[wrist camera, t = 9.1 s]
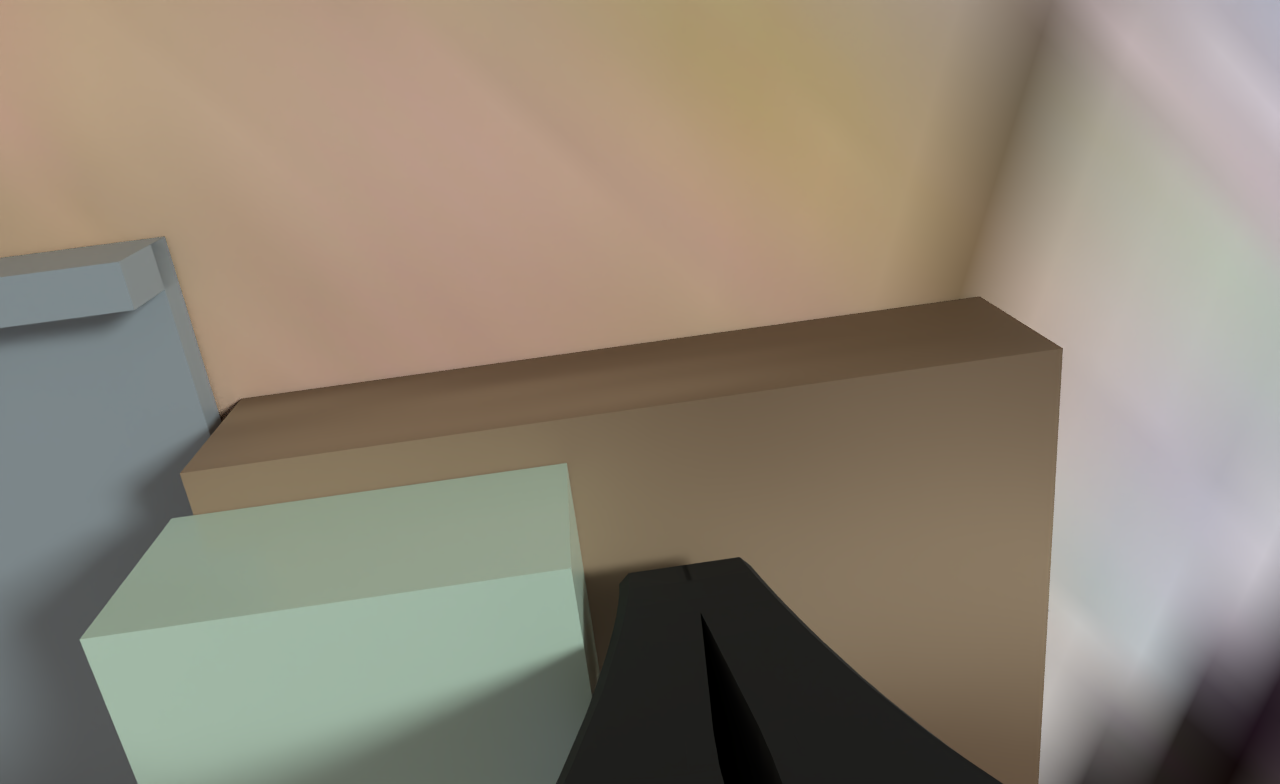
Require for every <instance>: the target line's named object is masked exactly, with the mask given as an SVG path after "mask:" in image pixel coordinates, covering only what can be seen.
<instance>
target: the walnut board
mask: <svg viewBox="0 0 1280 784" xmlns="http://www.w3.org/2000/svg"><path fill="white" fill-rule="evenodd" d="M1062 352H1063V348H1061V347H1060V346H1058V345H1056V344H1055V343H1053V342H1052V341H1050V340H1048V339H1047V338H1045V337H1044V336H1042V335H1040V334H1039V333H1037V332H1036V331H1034V330H1032V329H1031V328H1029V327H1028V326H1026V325H1024V324H1023V323H1021V322H1020V321H1018V320H1016V319H1015V318H1013V317H1012V316H1010V315H1008V314H1007V313H1005V312H1004V311H1002V310H1000V309H999V308H997V307H996V306H994V305H993V304H991V303H989V302H988V301H986V300H985V299H983V298H981V297H973V298H966V299H959V300H952V301H944V302H937V303H930V304H923V305H915V306H908V307H901V308H894V309H887V310H879V311H872V312H865V313H858V314H850V315H843V316H836V317H829V318H822V319H814V320H807V321H800V322H793V323H786V324H778V325H771V326H764V327H757V328H749V329H742V330H735V331H728V332H721V333H713V334H706V335H699V336H692V337H684V338H677V339H670V340H663V341H656V342H648V343H641V344H634V345H627V346H620V347H612V348H605V349H598V350H591V351H583V352H576V353H569V354H562V355H555V356H547V357H540V358H533V359H526V360H518V361H511V362H504V363H497V364H490V365H482V366H475V367H468V368H461V369H453V370H446V371H439V372H432V373H425V374H417V375H410V376H403V377H396V378H389V379H381V380H374V381H367V382H360V383H352V384H345V385H338V386H331V387H324V388H316V389H309V390H302V391H295V392H287V393H280V394H273V395H266V396H259V397H251V398H244V399H241V400H240V401H239V402H238V403H237V404H236V406H235V407H234V408H233V409H232V411H231V412H230V413H229V414H228V415H227V417H226V418H225V419H224V420H223V421H222V423H221V424H220V425H219V426H218V428H217V429H216V430H215V431H214V432H213V434H212V435H211V436H210V437H209V438H208V440H207V441H206V442H205V443H204V445H203V446H202V447H201V448H200V449H199V451H198V452H197V453H196V454H195V456H194V457H193V458H192V459H191V460H190V462H189V463H188V464H187V465H186V466H185V468H184V469H183V470H182V471H181V473H180V476H181V479H182V482H183V485H184V488H185V491H186V494H187V497H188V500H189V503H190V506H191V509H192V512H193V515H200V514H207V513H214V512H221V511H228V510H235V509H242V508H249V507H257V506H264V505H271V504H278V503H285V502H292V501H299V500H306V499H314V498H321V497H328V496H335V495H342V494H349V493H356V492H363V491H371V490H378V489H385V488H392V487H399V486H406V485H413V484H420V483H428V482H435V481H442V480H449V479H456V478H463V477H470V476H477V475H485V474H492V473H499V472H506V471H513V470H520V469H527V468H534V467H542V466H549V465H556V464H563V463H567V467H568V473H569V480H570V486H571V492H572V499H573V505H574V511H575V518H576V524H577V531H578V537H579V543H580V550H581V556H582V563H583V569H584V575H585V582H586V588H587V594H588V601H589V607H590V614H591V620H592V626H593V633H594V639H595V646H596V652H597V658H598V665H599V671H600V672H601V669H602V666H603V663H604V660H605V657H606V654H607V650H608V647H609V643H610V639H611V635H612V632H613V628H614V623H615V619H616V613H617V607H618V600H619V584H620V582H621V581H622V580H623V579H624V578H625V577H626V576H627V574H628V573H633V572H639V571H646V570H653V569H660V568H667V567H674V566H681V565H688V564H694V563H701V562H708V561H715V560H722V559H729V558H736V557H740V558H742V559H743V560H744V561H745V562H747V563H748V564H749V565H751V566H752V568H753V569H754V570H755V571H756V572H757V573H758V575H759V576H760V577H761V578H762V579H763V580H764V581H765V582H766V584H767V585H768V586H769V587H770V588H771V589H772V590H773V591H774V592H775V593H776V594H777V596H778V597H779V598H780V599H781V600H782V601H783V602H784V603H785V604H786V605H787V606H788V607H789V608H790V609H791V610H792V611H793V612H794V613H795V614H796V615H797V616H798V617H799V618H800V619H801V620H802V621H803V622H804V623H805V624H806V625H807V626H808V627H809V628H810V629H811V630H812V631H813V632H814V633H815V634H816V635H817V636H818V637H819V638H820V639H821V640H822V641H823V642H824V643H826V644H827V645H828V646H829V647H830V648H831V649H832V650H833V651H834V652H835V653H837V654H838V655H839V656H840V657H841V658H842V659H843V660H844V661H845V662H846V663H847V664H849V665H850V666H851V667H852V668H853V669H854V670H855V671H856V672H857V673H858V674H860V675H861V676H862V677H863V678H864V679H865V680H866V681H868V682H869V683H870V684H871V685H872V686H873V687H875V688H876V689H877V690H878V691H879V692H881V693H882V694H883V695H884V696H885V697H886V698H888V699H889V700H890V701H891V702H893V703H894V704H895V705H896V706H898V707H899V708H900V709H901V710H903V711H904V712H905V713H906V714H908V715H909V716H910V717H911V718H913V719H914V720H915V721H916V722H918V723H919V724H920V725H921V726H923V727H924V728H925V729H927V730H928V731H929V732H930V733H932V734H933V735H934V736H936V737H937V738H938V739H940V740H941V741H942V742H944V743H945V744H946V745H948V746H949V747H950V748H952V749H953V750H955V751H956V752H957V753H959V754H960V755H961V756H963V757H964V758H966V759H967V760H969V761H970V762H972V763H973V764H975V765H976V766H977V767H979V768H980V769H982V770H983V771H985V772H986V773H988V774H989V775H991V776H992V777H994V778H995V779H997V780H998V781H1000V782H1001V783H1003V784H1038V779H1039V761H1040V743H1041V725H1042V708H1043V690H1044V672H1045V654H1046V637H1047V619H1048V601H1049V583H1050V566H1051V548H1052V530H1053V512H1054V495H1055V477H1056V459H1057V441H1058V423H1059V406H1060V388H1061V370H1062Z"/></svg>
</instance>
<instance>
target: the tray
mask: <svg viewBox="0 0 1280 784" xmlns="http://www.w3.org/2000/svg"><path fill="white" fill-rule="evenodd" d="M221 423H222V422H221V419H220V415H219V412H218V409H217V406H216V402H215V399H214V396H213V393H212V389H211V386H210V383H209V380H208V376H207V373H206V370H205V366H204V363H203V360H202V357H201V353H200V350H199V347H198V344H197V340H196V337H195V334H194V331H193V327H192V324H191V321H190V317H189V314H188V311H187V308H186V304H185V301H184V298H183V295H182V291H181V288H180V285H179V282H178V278H177V275H176V272H175V269H174V265H173V262H172V259H171V255H170V252H169V249H168V246H167V242H166V239H165V237H157V238H149V239H142V240H134V241H127V242H119V243H111V244H104V245H96V246H88V247H81V248H73V249H65V250H58V251H50V252H42V253H35V254H27V255H19V256H12V257H4V258H0V784H138V783H137V780H136V778H135V775H134V773H133V771H132V768H131V766H130V763H129V761H128V758H127V756H126V753H125V751H124V748H123V746H122V743H121V741H120V738H119V736H118V734H117V731H116V729H115V726H114V724H113V721H112V719H111V716H110V714H109V711H108V709H107V706H106V704H105V701H104V699H103V696H102V694H101V692H100V689H99V687H98V684H97V682H96V679H95V677H94V674H93V672H92V669H91V667H90V664H89V662H88V659H87V657H86V655H85V652H84V650H83V647H82V645H81V642H80V640H79V639H80V638H81V637H82V636H83V634H84V633H85V632H86V630H87V629H88V628H89V626H90V625H91V624H92V622H93V621H94V620H95V618H96V617H97V616H98V615H99V613H100V612H101V611H102V609H103V608H104V607H105V605H106V604H107V603H108V601H109V600H110V599H111V597H112V596H113V595H114V593H115V592H116V591H117V590H118V588H119V587H120V586H121V584H122V583H123V582H124V580H125V579H126V578H127V576H128V575H129V574H130V572H131V571H132V570H133V569H134V567H135V566H136V565H137V563H138V562H139V561H140V559H141V558H142V557H143V555H144V554H145V553H146V551H147V550H148V549H149V548H150V546H151V545H152V544H153V542H154V541H155V540H156V538H157V537H158V536H159V534H160V533H161V532H162V530H163V529H164V528H165V526H166V525H167V524H168V523H169V521H170V520H171V519H172V518H178V517H185V516H192V515H193V512H192V509H191V506H190V503H189V500H188V497H187V494H186V491H185V488H184V485H183V482H182V479H181V476H180V473H181V471H182V470H183V469H184V468H185V466H186V465H187V464H188V463H189V462H190V460H191V459H192V458H193V457H194V456H195V454H196V453H197V452H198V451H199V449H200V448H201V447H202V446H203V445H204V443H205V442H206V441H207V440H208V438H209V437H210V436H211V435H212V434H213V432H214V431H215V430H216V429H217V428H218V426H219V425H220V424H221Z"/></svg>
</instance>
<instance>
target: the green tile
mask: <svg viewBox="0 0 1280 784" xmlns="http://www.w3.org/2000/svg"><path fill="white" fill-rule="evenodd" d="M79 640H80V642H81V645H82V647H83V650H84V652H85V655H86V657H87V659H88V662H89V664H90V667H91V669H92V672H93V674H94V677H95V679H96V682H97V684H98V687H99V689H100V692H101V694H102V696H103V699H104V701H105V704H106V706H107V709H108V711H109V714H110V716H111V719H112V721H113V724H114V726H115V729H116V731H117V734H118V736H119V738H120V741H121V743H122V746H123V748H124V751H125V753H126V756H127V758H128V761H129V763H130V766H131V768H132V771H133V773H134V775H135V778H136V780H137V783H138V784H556V782H557V780H558V778H559V776H560V774H561V771H562V769H563V767H564V764H565V762H566V760H567V757H568V755H569V753H570V750H571V748H572V746H573V743H574V741H575V739H576V736H577V734H578V732H579V729H580V727H581V725H582V722H583V720H584V718H585V715H586V712H587V710H588V707H589V705H590V702H591V699H592V696H593V693H594V690H595V687H596V684H597V681H598V678H599V675H600V671H599V665H598V658H597V652H596V646H595V639H594V633H593V626H592V620H591V614H590V607H589V601H588V594H587V588H586V582H585V575H584V569H583V563H582V556H581V550H580V543H579V537H578V531H577V524H576V518H575V511H574V505H573V499H572V492H571V486H570V480H569V473H568V467H567V463H563V464H556V465H549V466H542V467H534V468H527V469H520V470H513V471H506V472H499V473H492V474H485V475H477V476H470V477H463V478H456V479H449V480H442V481H435V482H428V483H420V484H413V485H406V486H399V487H392V488H385V489H378V490H371V491H363V492H356V493H349V494H342V495H335V496H328V497H321V498H314V499H306V500H299V501H292V502H285V503H278V504H271V505H264V506H257V507H249V508H242V509H235V510H228V511H221V512H214V513H207V514H200V515H192V516H185V517H178V518H172V519H171V520H170V521H169V523H168V524H167V525H166V526H165V528H164V529H163V530H162V532H161V533H160V534H159V536H158V537H157V538H156V540H155V541H154V542H153V544H152V545H151V546H150V548H149V549H148V550H147V551H146V553H145V554H144V555H143V557H142V558H141V559H140V561H139V562H138V563H137V565H136V566H135V567H134V569H133V570H132V571H131V572H130V574H129V575H128V576H127V578H126V579H125V580H124V582H123V583H122V584H121V586H120V587H119V588H118V590H117V591H116V592H115V593H114V595H113V596H112V597H111V599H110V600H109V601H108V603H107V604H106V605H105V607H104V608H103V609H102V611H101V612H100V613H99V615H98V616H97V617H96V618H95V620H94V621H93V622H92V624H91V625H90V626H89V628H88V629H87V630H86V632H85V633H84V634H83V636H82V637H81V638H80V639H79Z"/></svg>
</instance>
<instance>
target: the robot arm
mask: <svg viewBox="0 0 1280 784" xmlns="http://www.w3.org/2000/svg"><path fill="white" fill-rule="evenodd" d="M556 784H1003V783H1001V782H1000V781H998V780H997V779H995V778H994V777H992V776H991V775H989V774H988V773H986V772H985V771H983V770H982V769H980V768H979V767H977V766H976V765H975V764H973V763H972V762H970V761H969V760H967V759H966V758H964V757H963V756H961V755H960V754H959V753H957V752H956V751H955V750H953V749H952V748H950V747H949V746H948V745H946V744H945V743H944V742H942V741H941V740H940V739H938V738H937V737H936V736H934V735H933V734H932V733H930V732H929V731H928V730H927V729H925V728H924V727H923V726H921V725H920V724H919V723H918V722H916V721H915V720H914V719H913V718H911V717H910V716H909V715H908V714H906V713H905V712H904V711H903V710H901V709H900V708H899V707H898V706H896V705H895V704H894V703H893V702H891V701H890V700H889V699H888V698H886V697H885V696H884V695H883V694H882V693H881V692H879V691H878V690H877V689H876V688H875V687H873V686H872V685H871V684H870V683H869V682H868V681H866V680H865V679H864V678H863V677H862V676H861V675H860V674H858V673H857V672H856V671H855V670H854V669H853V668H852V667H851V666H850V665H849V664H847V663H846V662H845V661H844V660H843V659H842V658H841V657H840V656H839V655H838V654H837V653H835V652H834V651H833V650H832V649H831V648H830V647H829V646H828V645H827V644H826V643H824V642H823V641H822V640H821V639H820V638H819V637H818V636H817V635H816V634H815V633H814V632H813V631H812V630H811V629H810V628H809V627H808V626H807V625H806V624H805V623H804V622H803V621H802V620H801V619H800V618H799V617H798V616H797V615H796V614H795V613H794V612H793V611H792V610H791V609H790V608H789V607H788V606H787V605H786V604H785V603H784V602H783V601H782V600H781V599H780V598H779V597H778V596H777V594H776V593H775V592H774V591H773V590H772V589H771V588H770V587H769V586H768V585H767V584H766V582H765V581H764V580H763V579H762V578H761V577H760V576H759V575H758V573H757V572H756V571H755V570H754V569H753V568H752V566H751V565H749V564H748V563H747V562H745V561H744V560H743V559H742V558H740V557H736V558H729V559H722V560H715V561H708V562H701V563H694V564H688V565H681V566H674V567H667V568H660V569H653V570H646V571H639V572H633V573H628V574H627V576H626V577H625V578H624V579H623V580H622V581H621V582H620V584H619V600H618V607H617V613H616V619H615V623H614V628H613V632H612V635H611V639H610V643H609V647H608V650H607V654H606V657H605V660H604V663H603V666H602V669H601V672H600V675H599V678H598V681H597V684H596V687H595V690H594V693H593V696H592V699H591V702H590V705H589V707H588V710H587V712H586V715H585V718H584V720H583V722H582V725H581V727H580V729H579V732H578V734H577V736H576V739H575V741H574V743H573V746H572V748H571V750H570V753H569V755H568V757H567V760H566V762H565V764H564V767H563V769H562V771H561V774H560V776H559V778H558V780H557V782H556Z"/></svg>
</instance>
